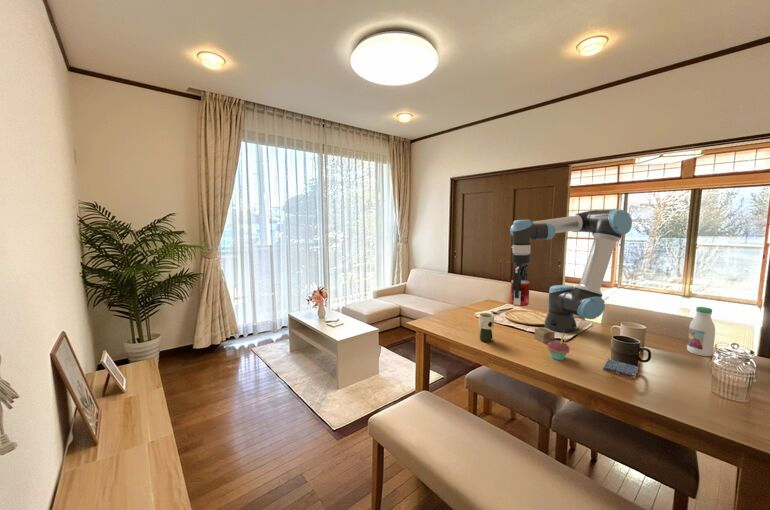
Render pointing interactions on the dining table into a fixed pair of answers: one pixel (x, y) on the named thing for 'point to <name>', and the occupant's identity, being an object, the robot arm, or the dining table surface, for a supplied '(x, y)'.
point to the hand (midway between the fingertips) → (519, 302)
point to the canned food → (522, 293)
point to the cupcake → (558, 349)
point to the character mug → (486, 326)
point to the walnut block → (544, 335)
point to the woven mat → (621, 368)
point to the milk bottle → (701, 333)
